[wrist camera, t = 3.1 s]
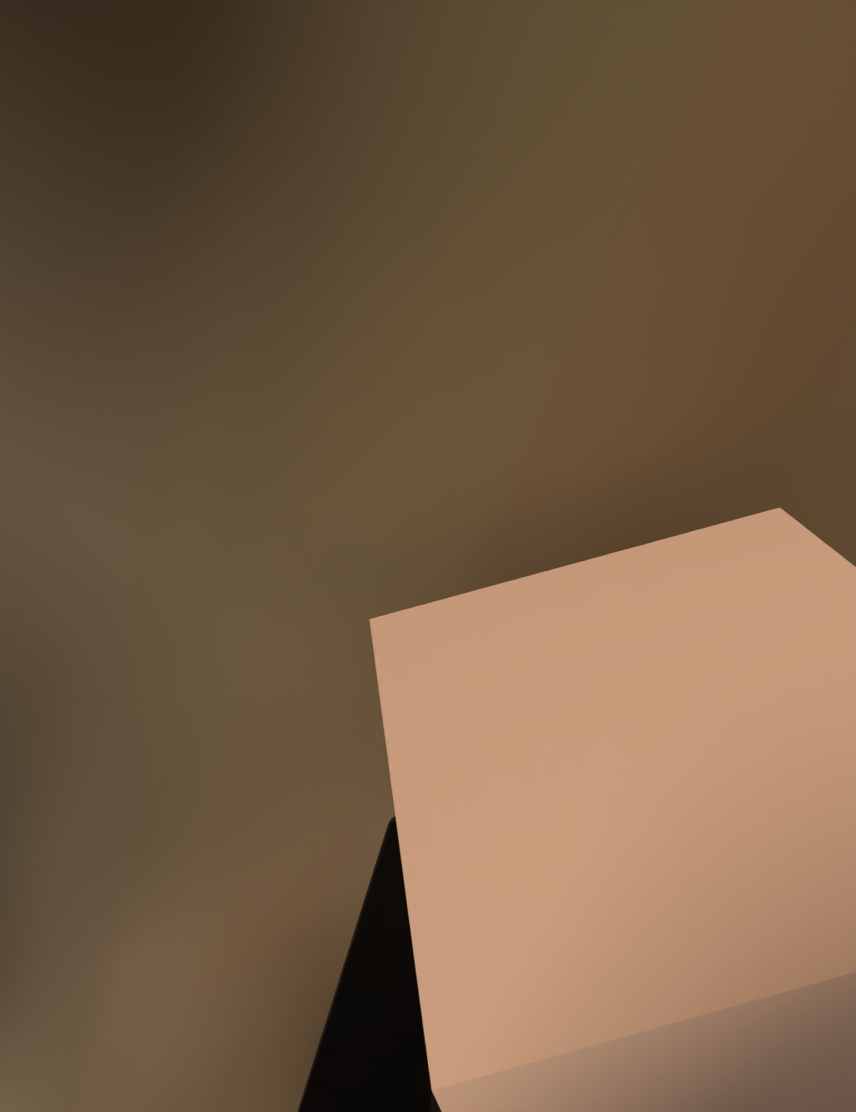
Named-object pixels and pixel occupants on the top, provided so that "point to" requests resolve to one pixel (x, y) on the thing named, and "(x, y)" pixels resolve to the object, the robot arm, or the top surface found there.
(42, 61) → the top surface
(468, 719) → the cube
